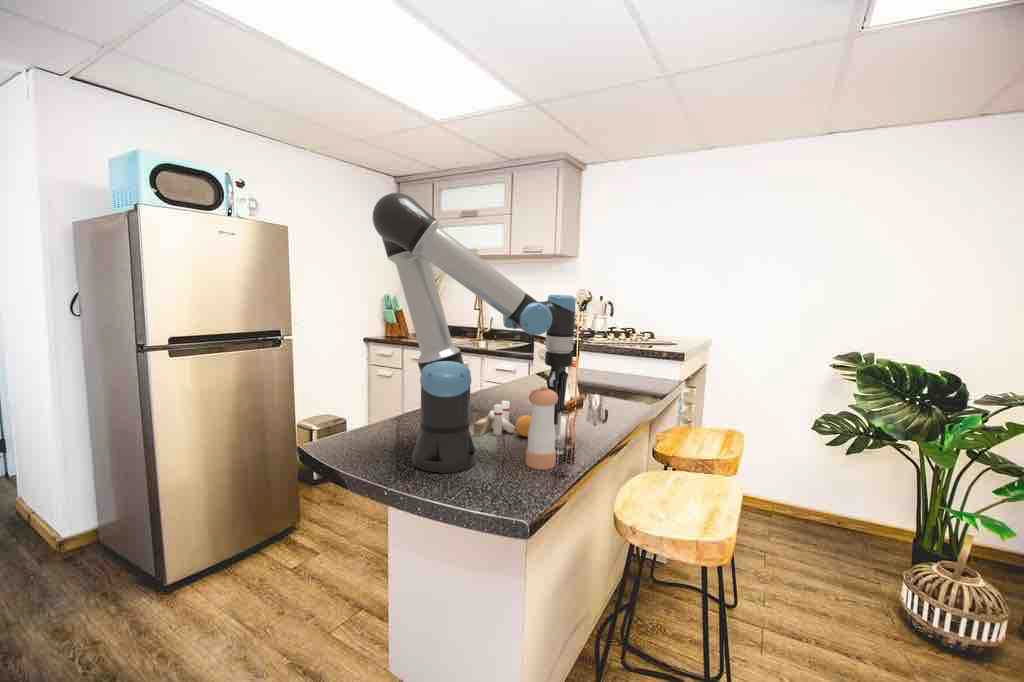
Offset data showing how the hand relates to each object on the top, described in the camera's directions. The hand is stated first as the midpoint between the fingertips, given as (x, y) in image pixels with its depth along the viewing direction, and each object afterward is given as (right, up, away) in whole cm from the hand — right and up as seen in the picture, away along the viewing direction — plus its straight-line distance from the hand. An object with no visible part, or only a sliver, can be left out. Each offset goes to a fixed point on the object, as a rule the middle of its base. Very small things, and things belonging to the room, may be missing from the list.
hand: (554, 434), depth 125 cm
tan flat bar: (-19, 0, +8) cm, 21 cm away
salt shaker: (-5, -4, -16) cm, 18 cm away
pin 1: (-16, -1, +4) cm, 17 cm away
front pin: (-12, 0, +5) cm, 13 cm away
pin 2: (-14, 0, +9) cm, 17 cm away
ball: (-8, +2, +3) cm, 9 cm away
